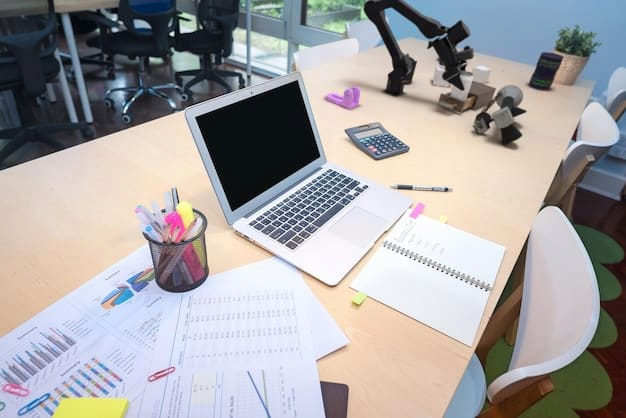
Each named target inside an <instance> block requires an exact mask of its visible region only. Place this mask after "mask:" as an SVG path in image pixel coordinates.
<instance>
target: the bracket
mask: <svg viewBox="0 0 626 418" xmlns="http://www.w3.org/2000/svg"><path fill="white" fill-rule="evenodd" d="M360 97H361V89H360V87H358V86H357V85H356V86H353V87H351V88H347V89H345V90H344V91H343V95H341V94H338V93H336V92H335V93H334V92H331V93H327V94H326V100H327V101H328V102H331V103H334V104H336V105H338V106H341V107H344V108H346V109H349V110H351V109H354V108H356V107H358V106H359V104H360Z"/></svg>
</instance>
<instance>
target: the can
mask: <svg viewBox="0 0 626 418" xmlns="http://www.w3.org/2000/svg"><path fill="white" fill-rule="evenodd" d="M471 72H472V71H471ZM471 72H470V71H468V70H466V71H462V72H461V75H460V77H461V80H462V83H463V85H464V88H465V90H463V91H461V90H460V89H458V88H457V87H455V86H454V85H452V88H451V91H450V92H451V94H450V96H451V97H454V98H457V99H459V100H462V101H464V100H466V99H467V96H468V93H469V90H470V87H471V84H472V80H473V73H471Z"/></svg>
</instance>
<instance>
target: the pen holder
mask: <svg viewBox="0 0 626 418" xmlns="http://www.w3.org/2000/svg"><path fill="white" fill-rule="evenodd" d="M409 57H410V59H411V61H413V62H412V70H411V71H410V72H409V73H408V74H407V75H406V76H405V77H403V79H405V80H404V85H409V84H411V83H413V79H414V74H415V71H416V67H417V65H418V60H415V59H414V58H413V57H411V56H409Z"/></svg>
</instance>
